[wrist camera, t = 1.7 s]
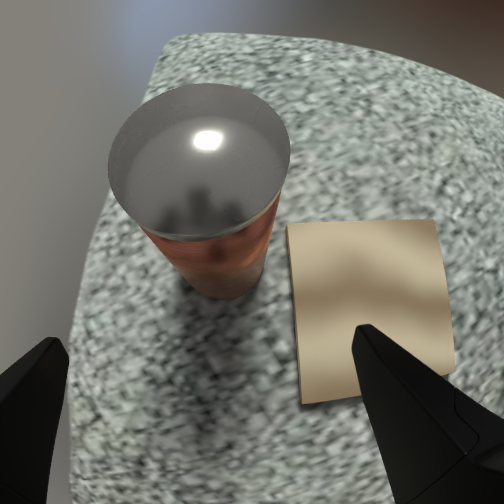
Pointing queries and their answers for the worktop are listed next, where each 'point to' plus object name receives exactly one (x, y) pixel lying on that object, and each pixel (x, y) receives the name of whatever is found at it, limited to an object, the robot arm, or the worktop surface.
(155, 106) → the tin
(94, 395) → the worktop surface
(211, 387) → the worktop surface
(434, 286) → the coaster
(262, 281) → the worktop surface
